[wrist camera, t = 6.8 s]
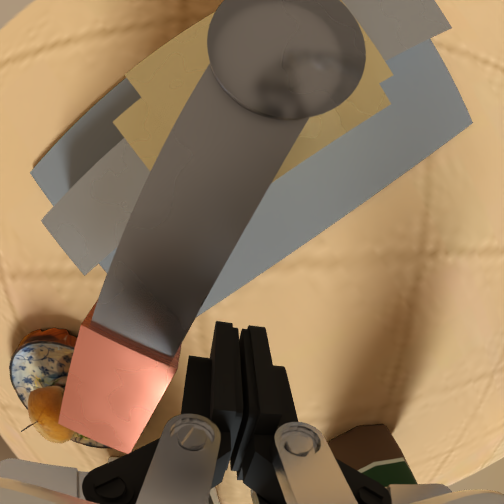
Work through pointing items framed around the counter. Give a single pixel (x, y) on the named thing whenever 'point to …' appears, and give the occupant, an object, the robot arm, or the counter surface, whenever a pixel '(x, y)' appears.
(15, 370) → the plate of food
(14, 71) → the counter surface
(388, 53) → the valve
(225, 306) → the counter surface
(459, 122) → the mat
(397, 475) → the beer bottle
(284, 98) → the lever
